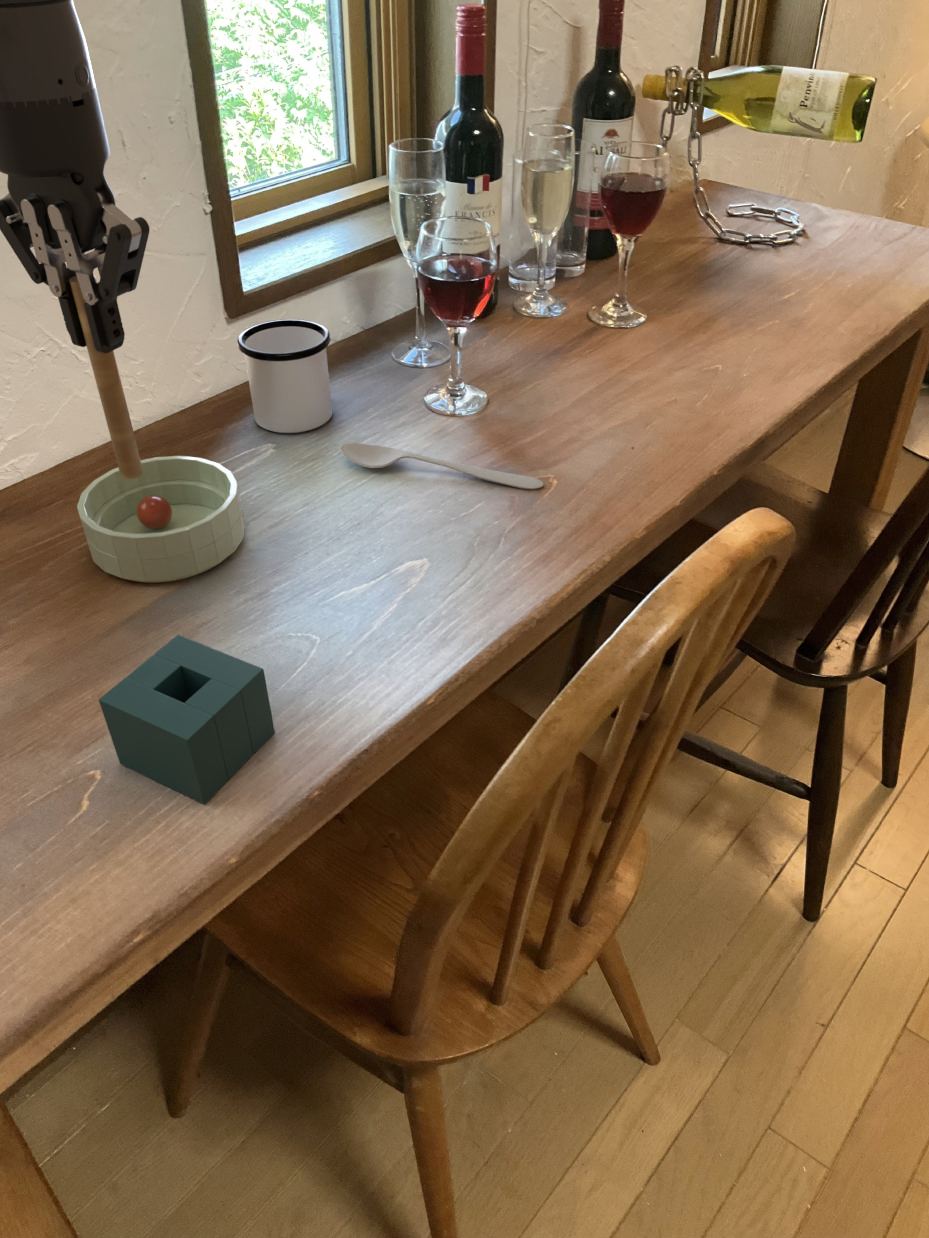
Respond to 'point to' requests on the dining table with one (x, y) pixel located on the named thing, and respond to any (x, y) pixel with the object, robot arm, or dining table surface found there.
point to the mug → (288, 374)
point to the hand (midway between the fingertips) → (99, 345)
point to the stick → (110, 396)
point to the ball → (154, 512)
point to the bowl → (187, 543)
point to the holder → (189, 717)
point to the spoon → (387, 456)
